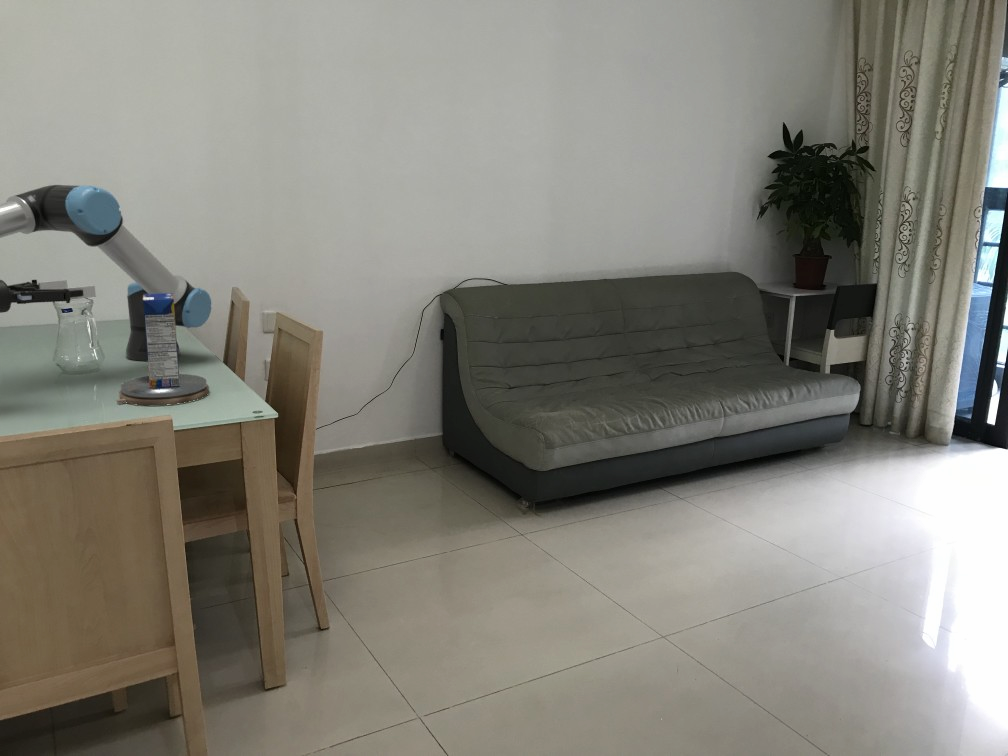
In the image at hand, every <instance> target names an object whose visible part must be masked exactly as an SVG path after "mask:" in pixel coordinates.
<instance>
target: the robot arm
mask: <svg viewBox="0 0 1008 756" xmlns="http://www.w3.org/2000/svg"><path fill="white" fill-rule="evenodd" d="M120 207H121V206H120V203H119V201H118V200H117V199H116V197H115V196H114V195H113V194H112V193H111V192H109V191H108V190H106V189H104V188H102V187H97V186H94V185H86V184H85V185H71V184H70V185H69V184H68V185H65V184H64V185H62V184H53V185H52V184H51V185H45V186H42V187H38V188H35V189H32V190H29V191H25V192H22V193H19V194H16V195H12V196H10V197H8V198H7V199H6V201H5V202H2V203H0V239H2V238H4V237H7V236H11V235H15V234H18V233H22V234H24V235H28V234H32V233H34V232H35V233H36V232H41V231H59V232H67V233H68V232H70V233H72V234H74V235H75V236H76V237H77V238H78V239H79V240H80V241H82V242H83V243H84V244H85V245H86V246H88V247H91V248H92V247H93V248H96V247H98V249H99V250H100V251H102V253H104V254H105V255H106V256H107V257H108V258H109V259H110V260H111V261H112V262H114V264H116V265H117V267H119V268H120V269H121V270H122V271H123V272H124V273H125V274H126V275H127V276H129V277H130V279H132V280H133V281H134V282H132V283H129V285H127V295H126V298H127V307H128V317H129V325H130V326H129V327H130V335H129V338H128V341H127V345H126V349H125V355H126V359H129V360H131V361H140V362H141V361H142V362H143V361H144V362H145V361H146V362H148V358H147V345H146V333H145V320H144V308H143V294H162V293H173V298H174V311H175V325H176V327H183V328H186V329H187V328H189V329H191V328H193V329H194V328H199V327H202V326H203V325H205V324H206V322H207V321H208V320H209V318H210V316H211V312H212V299H211V297H210V293H208V291H206V290H205V289H202V288H200V287H193V286H192V285H191V284H190V283H189V281H187V280H186V279H185V278H184V277H183V276H181V275H177V274H176V275H173V274H172V272H170V270H169V269H168V268H166V267H165V265H163V264H162V262H161V261H160V260H159V259H158V258H157V257H155V256H154V255H153V253H152V252H151V251H149V249H148V248H146V247H145V246H144V244H142V243H141V241H140V240H138V238H137V237H135V236H134V234H133V233H131V232H130V230H128V229H127V228H126V226H124V217H123V216H122V211H121V210H120ZM95 297H97V295H96V287H95V285H83V286H81V285H80V286H75V287H73V286H72V287H68V280H67V279H61V280H60V279H59V280H50V281H49V280H48V281H39V282H38V280H37V279H31V282H30V281H26V282H20V283H14V284H9V285H7V283H6V282H5V281H4V280H2V279H0V313H7V312H9V310H10V309H11V307H12V306H11V305H12V303H16V304H18V305H19V304H20V305H27V304H33V303H34V304H35V303H54V302H55V303H57V302H58V303H59V302H65V303H66V304H70V303H71V302H70V301H71V300H79V299H86V298H88V299H89V298H95ZM180 349H181V348H180V346H179V343H178V342H177V353H178V357H179V356H180V355H181V351H180Z"/></svg>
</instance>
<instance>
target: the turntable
mask: <svg viewBox="0 0 1008 756" xmlns="http://www.w3.org/2000/svg"><path fill="white" fill-rule="evenodd" d="M179 382H180V387H174V388H159V389H150V383H149V375H145V376H140V377H134V378H132V379H131V378H130V379H129V380H126V381H125V382H122V384H121V385H120V390H121V393H122V394H123V395H125V396H127V397H131V398H137V399H169V398H178V397H184V396H189V395H193V394H196V393H199V392H202V391H203V390H205V389H206V388H207V385H208V384H207V379H206V378H204V377H203V376H199V375H195V374H187V373H185V374H184V373H179Z"/></svg>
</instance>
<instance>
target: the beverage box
mask: <svg viewBox="0 0 1008 756" xmlns="http://www.w3.org/2000/svg"><path fill="white" fill-rule="evenodd" d="M143 308H144V320H145V333H146V345H147V358H148V361H147V368H148V369H147V370H148V376H149V383H150V389H159V388H174V387H180V382H179V374H180V371H179V369H180V368H179V356H178V353H177V343H178V341H177V329H176V328H177V326H176V325H175V311H174V298H173V293H162V294H143Z"/></svg>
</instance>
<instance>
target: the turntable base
mask: <svg viewBox="0 0 1008 756" xmlns="http://www.w3.org/2000/svg"><path fill="white" fill-rule="evenodd" d="M209 386H210V385H209V384H207V388H206V389H205V390H203V391H202V392H199V393H196V394H193V395H189V396H184V397H178V398H169V399H137V398H131V397H127V396H125V395H123V394H122V393H121V389H120V390H119V392H118V393H119V395H118V396H119V399H116V405H118V404H121V405H123V404H122V403H126V402H127V403H130V404H129V405H131V404H137V405H167V404H177V403H184V402H189V401H193V400H197V399H200V398H202V397H204V396H206V395H207V394H208V393H209V394H210V387H209ZM209 394H208V395H209ZM208 395H207V396H208ZM207 396H206V397H207ZM204 398H205V397H204ZM202 399H203V398H202ZM200 400H201V399H200ZM197 401H198V400H197ZM193 402H194V401H193ZM127 403H126V404H127ZM189 403H190V402H189ZM184 404H185V403H184ZM137 405H136V406H137ZM177 405H178V404H177Z"/></svg>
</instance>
